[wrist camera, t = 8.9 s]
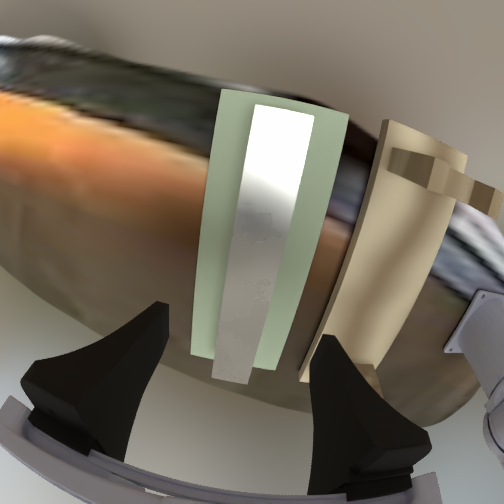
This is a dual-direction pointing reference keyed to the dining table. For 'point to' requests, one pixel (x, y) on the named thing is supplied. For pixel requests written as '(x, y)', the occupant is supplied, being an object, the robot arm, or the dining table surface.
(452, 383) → the dining table surface
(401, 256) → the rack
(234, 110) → the mat
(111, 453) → the robot arm
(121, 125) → the dining table surface
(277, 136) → the rail
